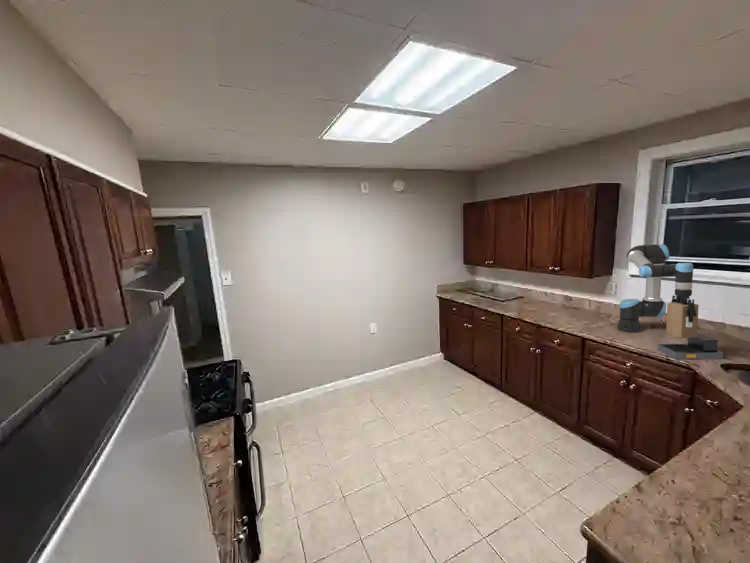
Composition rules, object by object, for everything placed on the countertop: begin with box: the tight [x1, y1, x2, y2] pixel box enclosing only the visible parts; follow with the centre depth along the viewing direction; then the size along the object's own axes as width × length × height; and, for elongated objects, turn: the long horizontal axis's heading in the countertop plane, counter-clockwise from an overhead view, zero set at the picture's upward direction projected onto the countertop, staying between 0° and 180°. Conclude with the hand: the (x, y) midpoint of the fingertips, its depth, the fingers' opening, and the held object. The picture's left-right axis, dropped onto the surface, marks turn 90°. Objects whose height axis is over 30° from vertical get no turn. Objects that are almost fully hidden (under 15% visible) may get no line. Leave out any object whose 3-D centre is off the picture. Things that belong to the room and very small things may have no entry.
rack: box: [657, 333, 724, 361], centre depth 199 cm, size 17×24×11 cm
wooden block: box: [665, 302, 699, 339], centre depth 198 cm, size 10×10×20 cm
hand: (681, 324), depth 198 cm, fingers closed on wooden block, 11 cm apart
